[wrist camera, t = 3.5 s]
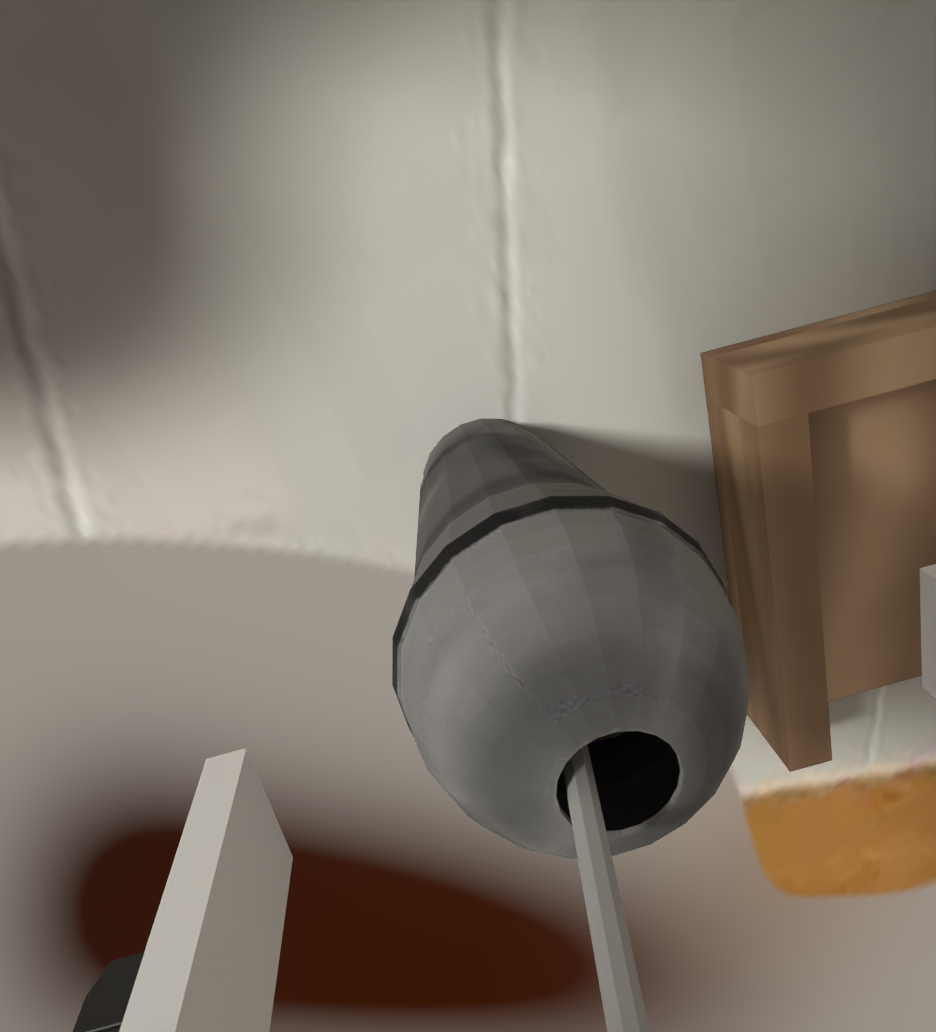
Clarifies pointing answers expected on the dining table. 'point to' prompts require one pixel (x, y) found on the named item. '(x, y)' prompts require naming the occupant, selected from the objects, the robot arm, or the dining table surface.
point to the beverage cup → (566, 667)
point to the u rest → (826, 509)
